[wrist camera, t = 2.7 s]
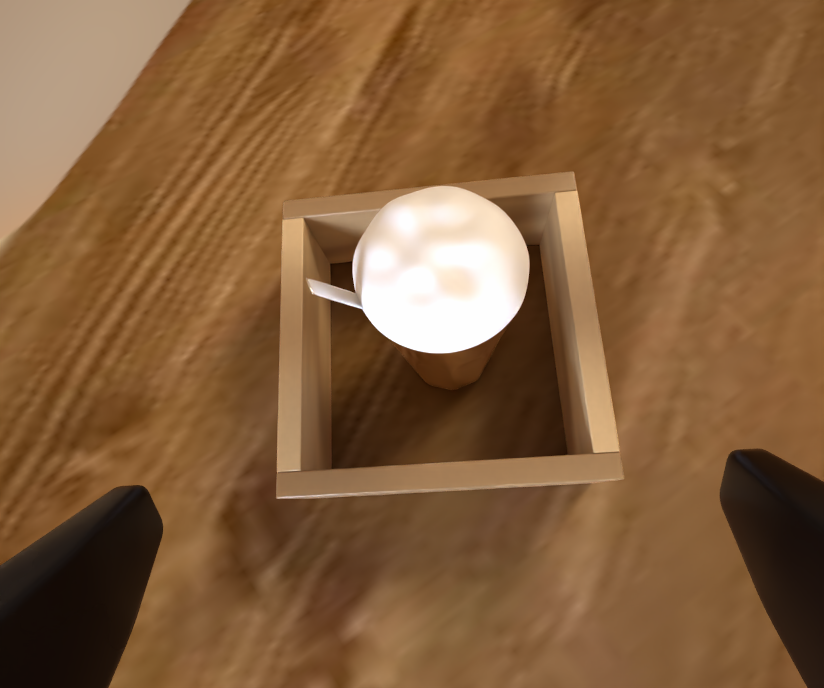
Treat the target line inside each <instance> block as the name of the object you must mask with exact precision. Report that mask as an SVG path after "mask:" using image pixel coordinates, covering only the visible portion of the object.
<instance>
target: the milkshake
mask: <svg viewBox="0 0 824 688" xmlns="http://www.w3.org/2000/svg"><path fill="white" fill-rule="evenodd" d="M352 271H353V281H354V287H355V291H356V293H353V292H350V291H347V290H345V289H342V288H339V287H336V286H333V285H330V284H327V283H324V282H321V281H318V280H315V279H312V278H308V277H306V281H307V284H308V287H309V289H310V291H311V293H312V294H313V295H316V296H319V297H322V298H326V299H329V300H333V301H336V302H339V303H343V304H346V305H350V306H353V307H356V308H360V309H363V311H364V313H365V314H366V316H367V317H368V319H369V320H370V321H371V323H372V324H373V325H374V326H375V327H376V328H377V329H378V330H379V331H380V332H381V333H382V334H383V335H384V336H385V337H386V338H387V340H388V341H389V342H390V343H391V344H392V345H393V346H394V347H395V348H396V349H397V350H399V351H400V352H401V354H402V355H403V356H404V358H405V359H406V360H407V361H408V363H409V364H410V365H411V367H412V368H413V369H414V370H415V371H416V372H417V373H418V374H419V375H420V376H421V377H422V379H423V380H424V381H425V382H426V383H427V384H428V385H429V386H435V387H439V388H444V389H449V390H456V389H458V388H461V387H463V386H465V385H467V384H470V383H472V382H474V381H477V380H478V378H479V377H480V375H481V373H482V371H483V370H484V368H485V366H486V364H487V363H488V361H489V359H490V358H491V356H492V353H493V351H494V349H495V347H496V345H497V343H498V341H499V339H500V338H501V336H502V335H503V333H504V332H505V330H506V329H507V327H508V325H509V324H510V322H511V320H512V319H513V317H514V316H515V315H516V313H517V312H518V310H519V309H520V307H521V305H522V302H523V300H524V297H525V294H526V290H527V285H528V278H529V254H528V250H527V247H526V244H525V241H524V239H523V237H522V235H521V233H520V231H519V230H518V228H517V227H516V225H515V224H514V222H513V221H512V220H511V219H510V217H509V216H508V215H507V214H506V213H505V212H504V211H503V210H502V209H501V208H499V207H498V206H497V205H495V204H494V203H492V202H491V201H489V200H487V199H485V198H483V197H481V196H479V195H477V194H475V193H473V192H470V191H468V190H465V189H462V188H458V187H453V186H436V187H430V188H426V189H422V190H419V191H416V192H413V193H409V194H406V195H403V196H400V197H398V198H396V199H394V200H392V201H390V202H389V203H387V204H386V205H385V206H384V207H383V208H382V209H381V210H380V211H379V212H378V213H377V214H376V216H375V217H374V218H373V220H372V221H371V223H370V224H369V226H368V228H367V229H366V231H365V232H364V234H363V235H362V237H361V239H360V241H359V243H358V245H357V247H356V250H355V253H354V258H353V268H352Z"/></svg>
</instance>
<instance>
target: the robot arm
mask: <svg viewBox="0 0 824 688" xmlns="http://www.w3.org/2000/svg"><path fill="white" fill-rule="evenodd" d="M720 502H721V506H722V509H723V511H724V514H725V516H726V518H727V521H728V523H729V526H730V528H731V530H732V533H733V535H734V538H735V540H736V542H737V545H738V547H739V550H740V552H741V554H742V557H743V559H744V561H745V564H746V566H747V569H748V571H749V573H750V576H751V578H752V581H753V583H754V585H755V588H756V590H757V592H758V595H759V597H760V599H761V601H762V603H763V606H764V608H765V610H766V612H767V614H768V616H769V618H770V620H771V621H772V623H773V625H774V627H775V629H776V631H777V633H778V635H779V636H780V638H781V640H782V642H783V644H784V646H785V647H786V649H787V651H788V653H789V655H790V657H791V658H792V660H793V662H794V664H795V666H796V668H797V669H798V671H799V673H800V675H801V677H802V679H803V680H804V682H805V684H806V686H807V688H824V482H823V481H821V480H820V479H818V478H816V477H814V476H812V475H810V474H809V473H807V472H805V471H803V470H801V469H799V468H797V467H796V466H794V465H792V464H790V463H788V462H786V461H785V460H783V459H781V458H779V457H777V456H775V455H774V454H772V453H770V452H768V451H766V450H763V449H742V450H734V451H732V452H731V453H730V454H729V456H728V458H727V462H726V466H725V471H724V475H723V479H722V483H721V488H720ZM162 534H163V523H162V519H161V517H160V515H159V513H158V511H157V509H156V506H155V504H154V502H153V500H152V498H151V496H150V494H149V492H148V490H147V489H146V488H145V487H144V486H140V485H133V486H120V487H116V488H114V489H112V490H111V491H109V492H108V493H106V494H105V495H104V496H102V497H101V498H99V499H98V500H96V501H95V502H93V503H92V504H90V505H89V506H87V507H86V508H84V509H83V510H81V511H80V512H79V513H77V514H76V515H74V516H73V517H71V518H70V519H68V520H67V521H65V522H64V523H62V524H61V525H59V526H58V527H56V528H55V529H53V530H52V531H51V532H49V533H48V534H46V535H45V536H43V537H42V538H40V539H39V540H37V541H36V542H34V543H33V544H31V545H30V546H28V547H27V548H26V549H24V550H23V551H21V552H20V553H18V554H17V555H15V556H14V557H12V558H11V559H9V560H8V561H6V562H5V563H3V564H2V565H0V688H108V687H109V685H110V682H111V680H112V678H113V675H114V673H115V671H116V668H117V666H118V663H119V661H120V659H121V656H122V654H123V652H124V649H125V647H126V644H127V642H128V639H129V637H130V634H131V632H132V629H133V626H134V623H135V620H136V618H137V615H138V612H139V608H140V605H141V602H142V599H143V596H144V592H145V589H146V586H147V583H148V580H149V577H150V573H151V570H152V567H153V564H154V561H155V558H156V554H157V551H158V548H159V545H160V542H161V538H162Z"/></svg>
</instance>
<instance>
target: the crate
mask: <svg viewBox="0 0 824 688" xmlns="http://www.w3.org/2000/svg"><path fill="white" fill-rule="evenodd" d="M436 186H453V187H458V188H462V189H465V190H468V191H470V192H473V193H475V194H477V195H479V196H481V197H483V198H485V199H487V200H489V201H491V202H492V203H494V204H495V205H497V206H498V207H499V208H501V209H502V210H503V211H504V212H505V213H506V214H507V215H508V216H509V217H510V219H511V220H512V221H513V222H514V224H515V225H516V227H517V228H518V230H519V231H520V233H521V235H522V237H523V239H524V241H525V244H526V246H528V245H539V244H540V245H539V246H540V254H541V261H542V269H543V276H544V283H545V291H546V298H547V305H548V313H549V320H550V328H551V335H552V342H553V350H554V357H555V364H556V372H557V379H558V387H559V394H560V401H561V409H562V416H563V424H564V431H565V438H566V446H567V453H568V455H561V456H544V457H527V458H510V459H493V460H477V461H460V462H443V463H426V464H409V465H392V466H376V467H359V468H342V469H332V434H331V300H329V299H326V298H322V297H319V296H316V295H313V294H312V293H311V291H310V289H309V287H308V284H307V281H306V277H308V278H312V279H315V280H318V281H321V282H324V283H327V284H330V285H331V282H330V264H332V263H342V262H353V258H354V253H355V250H356V247H357V245H358V243H359V241H360V239H361V237H362V235H363V234H364V232H365V231H366V229H367V228H368V226H369V224H370V223H371V221H372V220H373V218H374V217H375V216H376V214H377V213H378V212H379V211H380V210H381V209H382V208H383V207H384V206H385V205H386V204H387V203H389V202H390V201H392V200H394V199H396V198H398V197H400V196H403V195H406V194H409V193H413V192H416V191H419V190H422V189H426V188H430V187H436ZM277 472H278V473H277V483H276V498H278V499H313V498H331V497H350V496H368V495H386V494H404V493H422V492H441V491H459V490H477V489H495V488H513V487H532V486H550V485H568V484H586V483H598V482H606V481H615V480H623V479H624V471H623V465H622V459H621V454H620V447H619V441H618V435H617V428H616V422H615V416H614V410H613V404H612V398H611V392H610V386H609V380H608V374H607V368H606V362H605V355H604V349H603V343H602V337H601V331H600V325H599V319H598V313H597V307H596V301H595V295H594V289H593V283H592V276H591V270H590V264H589V258H588V252H587V246H586V240H585V234H584V228H583V222H582V216H581V210H580V203H579V197H578V192H577V186H576V180H575V174H574V172H573V171H571V172H561V173H551V174H541V175H531V176H522V177H512V178H502V179H492V180H483V181H473V182H463V183H453V184H443V185H434V186H424V187H414V188H404V189H394V190H385V191H375V192H365V193H355V194H345V195H336V196H326V197H316V198H306V199H297V200H287V201H283V221H282V264H281V307H280V350H279V393H278V436H277Z"/></svg>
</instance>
